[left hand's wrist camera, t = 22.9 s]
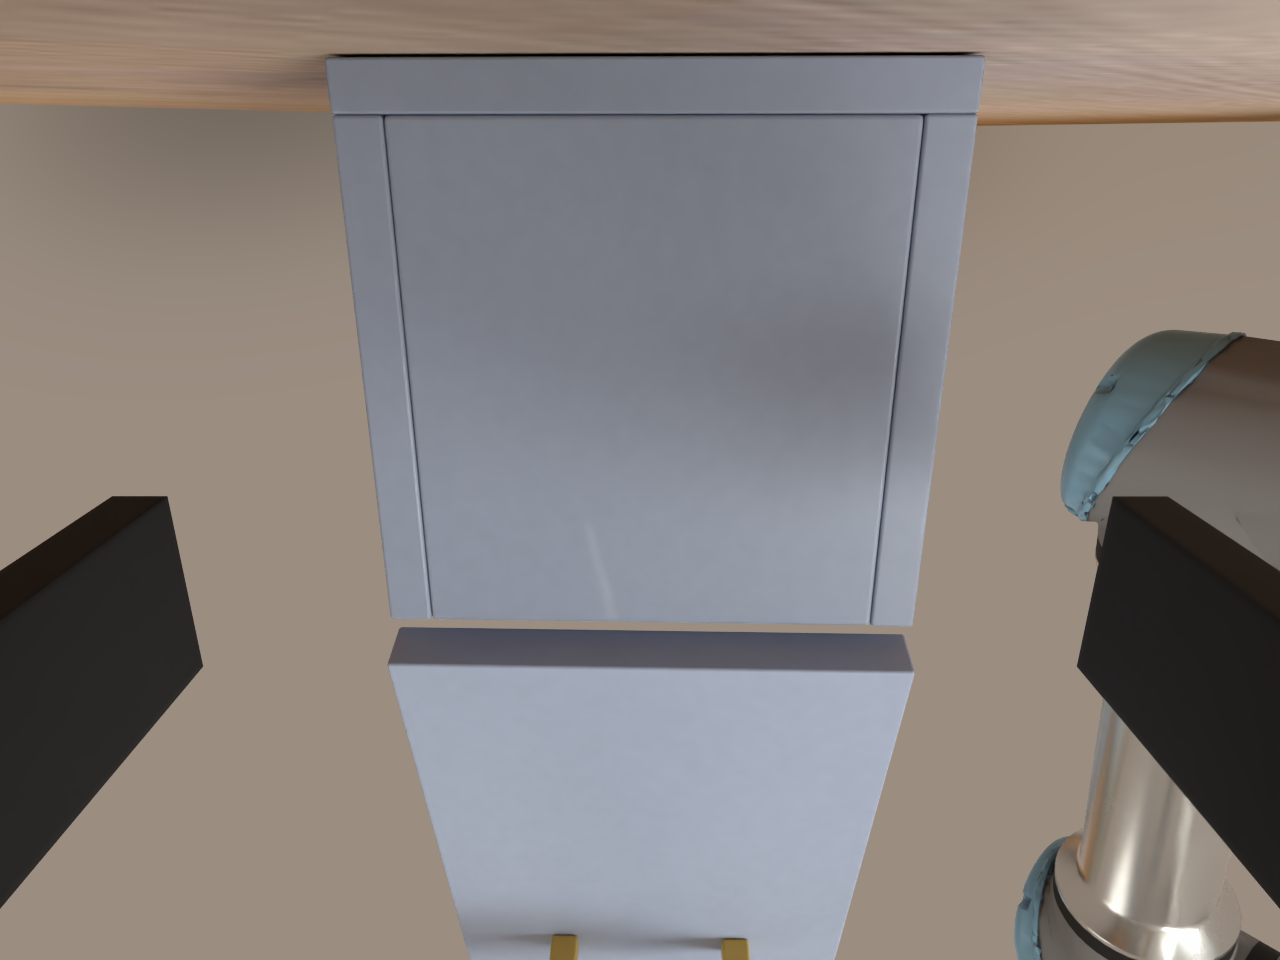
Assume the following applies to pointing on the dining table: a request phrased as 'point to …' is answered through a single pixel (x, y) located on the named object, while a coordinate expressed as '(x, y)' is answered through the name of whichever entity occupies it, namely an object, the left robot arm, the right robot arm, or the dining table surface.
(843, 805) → the lid
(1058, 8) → the dining table surface
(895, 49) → the dining table surface
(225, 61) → the dining table surface
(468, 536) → the chest
